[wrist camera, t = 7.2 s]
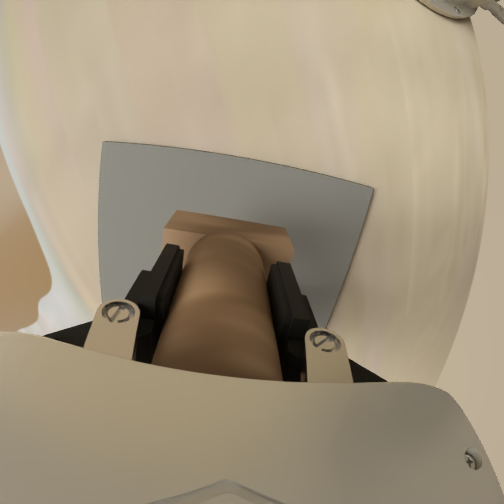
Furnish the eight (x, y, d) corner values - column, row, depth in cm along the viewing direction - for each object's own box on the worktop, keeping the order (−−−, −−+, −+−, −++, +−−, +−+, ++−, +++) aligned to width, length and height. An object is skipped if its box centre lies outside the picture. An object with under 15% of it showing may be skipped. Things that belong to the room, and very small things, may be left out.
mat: (370, 187, 22) (373, 188, 22) (296, 387, 32) (296, 390, 31) (105, 141, 20) (102, 141, 19) (112, 361, 29) (111, 364, 28)
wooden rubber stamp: (286, 222, 16) (383, 449, 4) (271, 279, 17) (315, 503, 5) (177, 204, 15) (46, 414, 3) (171, 263, 16) (93, 481, 5)
